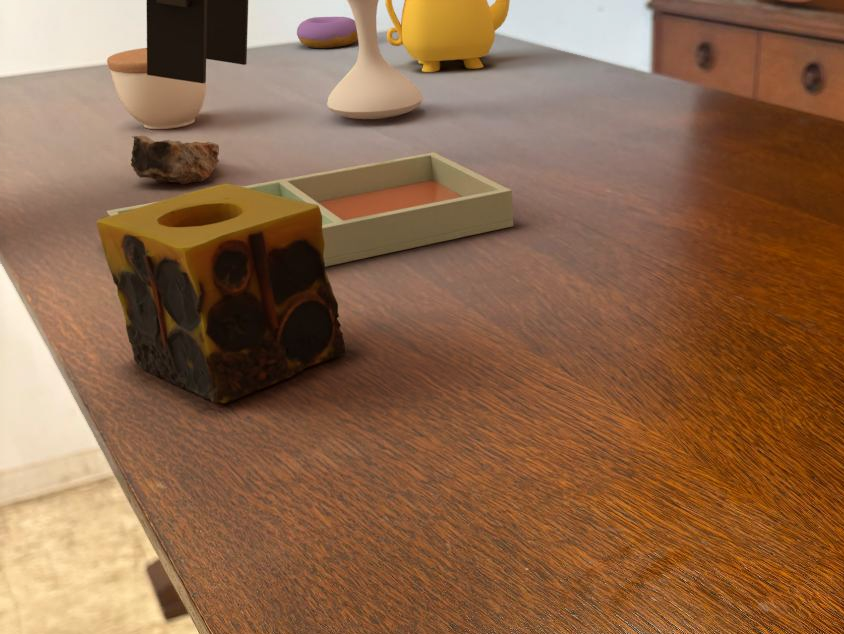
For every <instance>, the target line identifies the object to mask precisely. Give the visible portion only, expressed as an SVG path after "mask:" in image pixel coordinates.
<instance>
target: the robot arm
mask: <svg viewBox="0 0 844 634" xmlns="http://www.w3.org/2000/svg"><path fill="white" fill-rule="evenodd" d="M248 24H249V0H146V39H147V40H146V48H147V75H151V76H157V77H164V78H170V79H177V80H183V81H190V82H196V83H206V82H207V60H211V61H218V62H223V63H229V64H236V65H243V66H245V65H247V64H248V63H247V62H248V60H247V59H248V57H247V56H248V55H247V54H248V31H249V30H248V28H249V27H248V26H249V25H248Z"/></svg>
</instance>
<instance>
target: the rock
mask: <svg viewBox="0 0 844 634" xmlns="http://www.w3.org/2000/svg"><path fill="white" fill-rule="evenodd" d="M131 138H133V146H132V150H131V159H130V161H131V163H130V166H131V167H132V168H133V169H132V170H133V172H134V173H135V174H136V176H137V177H138V178H140V179H141V178H147V179H148V178H149V179H153V180H155V181H156V182H158V183H161V184H166V183H179V184H181V185H187V184H190V183H195V182H203V181H204V180H206V179H208V178H209V177H210V176H211V173H212V172H213V171H214V170H215V169H216V167H217V164H218V163H219V162H220V160H219V155H220V145H219V144H218V143H216V142H211V141H207V142H201V141H192V142H182V141H181V140H170V139H165V140H159V141H158V140H156V141H155V140H153V139H151V138H150V137H149V136H147V135H134V136H132V135H131Z"/></svg>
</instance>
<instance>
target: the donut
mask: <svg viewBox="0 0 844 634" xmlns="http://www.w3.org/2000/svg"><path fill="white" fill-rule="evenodd" d="M296 36H297V38H298V40H299V41H300V43H301V45H303V46H305V47H307V48H314V49H331V48H332V49H333V48H340V47H345V46H349V45H352V44H354V43H355V42H356V41H357V40H358V34H357V28H356V24H355V19H354V18H351V17H347V16H317V17H316V16H315V17H309V18H307V19H305V20H303V21H301V22H300V23H299V24H298V25H297V29H296Z"/></svg>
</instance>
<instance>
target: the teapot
mask: <svg viewBox="0 0 844 634" xmlns="http://www.w3.org/2000/svg"><path fill="white" fill-rule="evenodd" d="M384 2H385V8H386V11H387V13H388V16H389V18H390V20H391V23H392V24H393V26H394V27H391V28H389V29H388V31H387V32H386V33H387V34H386V40H387V42H388V44H390V45H391V46H394V47H401V46H402V45H403V47H404V49H405V50H406V52H407V54H408V55H409V56H410V57H411V58H412V59H414V60H418V61H417V63H418V64H421V65H422V68H421V72H423V73H433V72H438V71H440V69H441V61H455V60H460V61H463V64H464V67H465V69H469V70H470V69H473V70H474V69H481V68H484V65H483V63H482V61H481V59H480V58H481V57H485V56H487V55H488V54H489V52H490V51H491V50H492V49H491V48H492V46H493V44H494V41H495V38H496V33H495V32H496V31H497V30H498V29H499V28H501V27H502V25H504V23H505V21H506V20H507V17H508V15H509V14H508V13H509V10H510V0H495V1H494V2H493V3H492V4H491V5H489V2H488V0H404V2H403V6H402V12H401V19H400V20H399V18H398V16H397V14H396V11H395V9H394V6H393V0H384ZM393 33H397V39H396V38H394V37H393Z"/></svg>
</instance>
